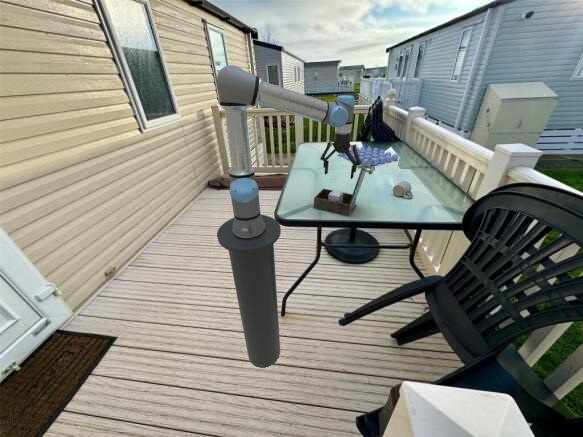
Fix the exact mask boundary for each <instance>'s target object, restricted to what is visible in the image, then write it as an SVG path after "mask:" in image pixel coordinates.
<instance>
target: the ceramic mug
mask: <svg viewBox="0 0 583 437" xmlns="http://www.w3.org/2000/svg"><path fill="white" fill-rule="evenodd" d="M392 192H393V195H395V196H396V197H404V198H406V199H407V200H409V199H412V198H413V197H414V194H413V192H412V185H411V183H410V182H409V181H408V180H402V181H399V183H397V184H395V185H394V186H393V188H392ZM407 194H409V195H410V196H408V195H407Z"/></svg>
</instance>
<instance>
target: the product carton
mask: <svg viewBox="0 0 583 437" xmlns="http://www.w3.org/2000/svg"><path fill="white" fill-rule="evenodd" d="M332 190H333V189H332ZM342 192H343V191H338V190H333V191H332V192H331V193H329V195H328V200H329V201H333V202H338V203H342V200H343V193H344V192H343V193H342Z"/></svg>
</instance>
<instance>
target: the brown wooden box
mask: <svg viewBox="0 0 583 437" xmlns="http://www.w3.org/2000/svg"><path fill="white" fill-rule="evenodd" d="M332 191H333V189H327V188H322V189H321V190H320V191H319V193H317V194H316V195H315V196H314V197H313V209H317V210H321V211H326V212H330V213H333V214H338V215H342V216H346V217H349V216H350V214H352V212H353V210H354V208H355V207H356V204H357V196H358V195H357V196H356V198H355V199H354V201H353V202H352V204H351V205H349V203H350V200H351V197H352V195H353V193H348V192H343V191H341V192H342V193H343V200H342V203H338V202H333V201H329V200H328V195H329V193H331V192H332Z"/></svg>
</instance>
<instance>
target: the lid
mask: <svg viewBox="0 0 583 437" xmlns="http://www.w3.org/2000/svg"><path fill="white" fill-rule="evenodd" d="M369 162H370V159H368V161H367V162H366V163H365V164H364V165H363V166H362V167H361V168H360V172H359V175H358V178H357V179H356V180H357V181H356V183H355V186H354V189H353V191H352V194H353V195H352V197H351V200H350V203H349V205H351V204H352V202H353V201H354V199H355V198H356V199H357V197H356V196H358V195H359V192H360V189H361V188H362V187H361V186H362V183H363V181H364V179H365V175H366V173H368V175H373V173H374V172H375V170H376V167H375V166H371V167H369V166H368V165H369ZM368 169H369V170H368Z"/></svg>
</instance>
